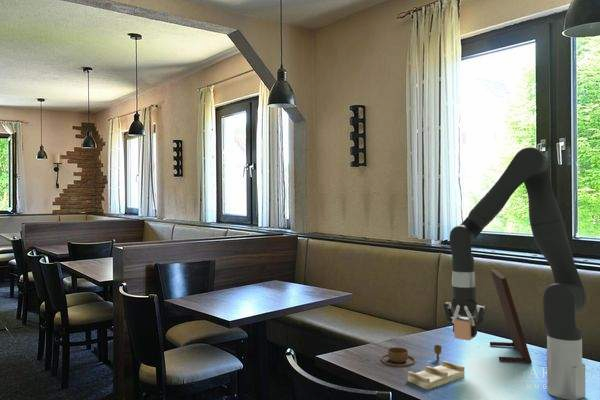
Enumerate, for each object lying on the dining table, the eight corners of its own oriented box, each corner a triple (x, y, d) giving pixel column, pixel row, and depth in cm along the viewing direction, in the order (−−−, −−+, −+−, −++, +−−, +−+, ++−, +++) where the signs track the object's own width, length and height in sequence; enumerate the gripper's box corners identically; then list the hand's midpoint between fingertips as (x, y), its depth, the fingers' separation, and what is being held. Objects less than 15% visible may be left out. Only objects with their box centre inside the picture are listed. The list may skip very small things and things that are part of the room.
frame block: (475, 336, 165) (475, 317, 165) (469, 340, 160) (468, 321, 160) (461, 334, 168) (460, 315, 168) (454, 338, 163) (453, 319, 163)
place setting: (388, 354, 185) (388, 338, 185) (442, 361, 176) (442, 345, 176) (374, 369, 169) (374, 352, 169) (433, 377, 160) (433, 359, 160)
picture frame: (532, 364, 170) (531, 278, 170) (500, 362, 173) (499, 277, 172) (517, 346, 191) (517, 269, 191) (489, 344, 193) (489, 268, 193)
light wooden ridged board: (464, 376, 159) (464, 367, 159) (427, 389, 149) (427, 379, 149) (444, 369, 166) (444, 360, 166) (407, 381, 155) (407, 371, 155)
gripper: (489, 284, 163) (490, 336, 162) (447, 281, 172) (448, 329, 172) (481, 288, 157) (482, 341, 157) (438, 284, 166) (439, 334, 166)
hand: (464, 335), depth 164 cm, fingers closed on frame block, 5 cm apart
